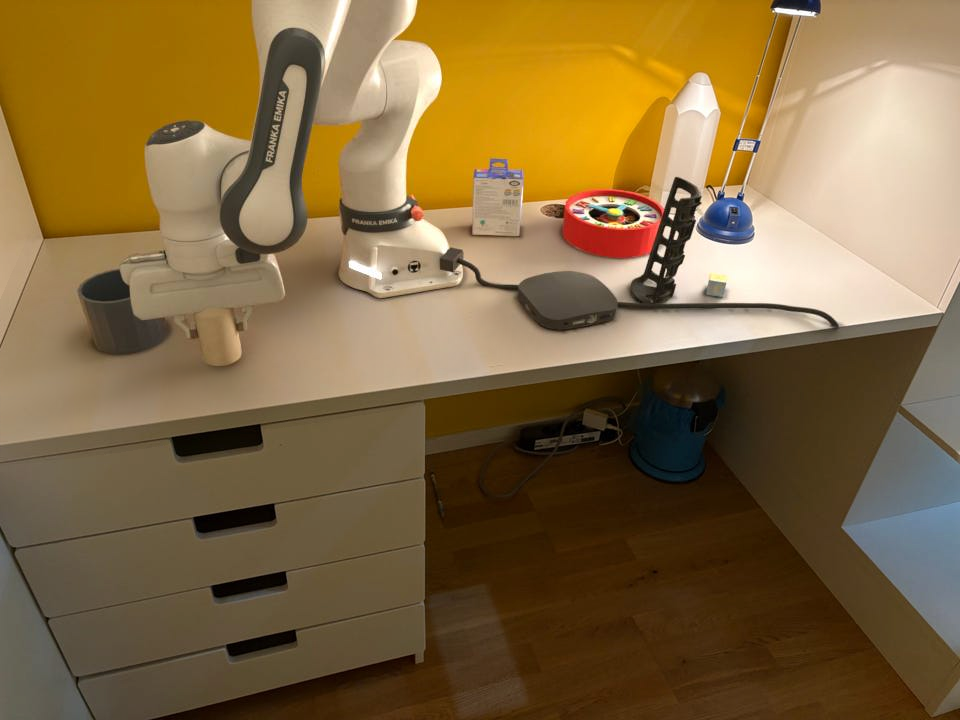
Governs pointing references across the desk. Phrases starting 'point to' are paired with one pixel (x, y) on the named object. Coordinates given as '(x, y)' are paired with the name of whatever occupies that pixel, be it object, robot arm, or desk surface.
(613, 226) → the toy clock
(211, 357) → the candle
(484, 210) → the ink cartridge box
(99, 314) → the pen holder
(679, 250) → the holder
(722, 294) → the alphabet block
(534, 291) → the media streaming box
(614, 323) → the desk surface
